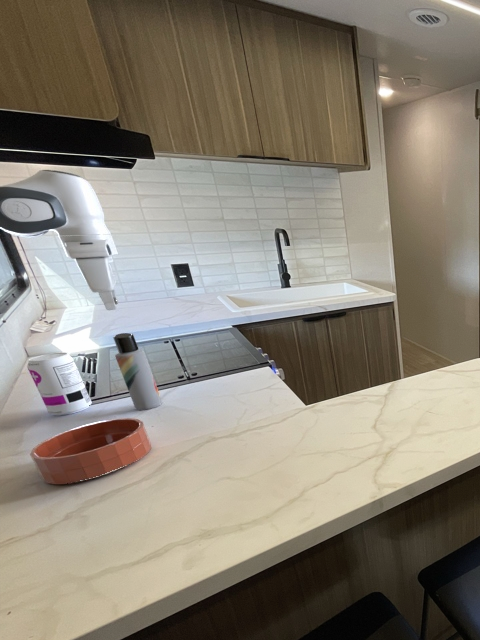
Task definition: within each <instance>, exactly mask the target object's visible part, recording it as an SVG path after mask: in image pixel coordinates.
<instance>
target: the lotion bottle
mask: <svg viewBox="0 0 480 640" xmlns="http://www.w3.org/2000/svg"><path fill="white" fill-rule="evenodd" d="M112 338H113V341H114V344H115V347H116V349H117V351H118V352H117V353H116V354H115V355H114V356H115V357H114V358H115V360H116V362H117V365H118V367H119V370H120V373H121V375H122V377H123V381H124V383H125V386H126V388H127V391H128V393H129V396H130V399H131V401H132V404H133V406H134V408H135V410H138V411H144V410H151V409H153V408H157V407H159V406H160V405H162V403H163V400H162V397H161V395H160V392H159V388H158V386H157V383H156V380H155V377H154V375H153V372H152V369H151V366H150V364H149V361H148V357H147V354H146V353H145V351H144V349H139V347H138V343H137V341H136V339H135V336H134V334H133V333H130V332H129V333H128V332H122V333H117V334H115V335H114V336H113V337H112Z"/></svg>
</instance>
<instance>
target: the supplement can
mask: <svg viewBox="0 0 480 640" xmlns="http://www.w3.org/2000/svg"><path fill="white" fill-rule="evenodd" d="M26 368H27V370H28V372H29V374H30V376H31V378H32V380H33V383H34V385H35V387H36V389H37V391H38V393H39V395H40V397H41V400H42V402H43V403H44V406H45V408H46V410H47V412H48V414H50V415H53V416H66V415H71V414H75V413H79V412H81V411H84V410H87V409H88V408H89V407H90V406H91V405H92V402H93V401H92V400H91V397H90V395H89V392H88V390H87V387H86V386H85V383H84V381H83V378H82V376H81V373H80V372H79V368H78V367H77V365H76V363H75V360H74V357H72V356H71V355H69V353H68V352H53V353H47V354H41V355H38V356H37V355H36V356H33V357H31V358H29V359H28V360H27V365H26ZM89 405H90V406H89Z"/></svg>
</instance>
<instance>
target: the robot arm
mask: <svg viewBox="0 0 480 640" xmlns="http://www.w3.org/2000/svg"><path fill="white" fill-rule="evenodd" d="M0 230H2V231H4V232H6V233H7V234H10V235H13V236H16V237H22V238H36V237H40V236H43V235H45V234H47V233H48V232H50V231H54V232H56V233H57V235H58V238H59V240H60V243H61V245H62V248H63V250H64V253H65V255H66V257H67V258H70V259H72V260H74V261H75V263H76V266H77V267H78V269H79V271H80V273H81V275H82V277H83V279H84V281H85V283H86V284H87V286H88V288H89V290H90V291H91V292H92V293H98V295H99V298H100V299H101V301H102V303H103V305H104V308H105V309H106V311H114V310H116V309H117V305H119V301H118V297H117V294H116V289H115V287H116V285H117V279H116V276H115V273H114V271H113V268H112V266H111V263H114V262H115V261H114V259H113V256H117V255H119V252H118V249H117V246H116V244H115V243H116V242H115V241H114V238H113V235H112V233H111V231H110V230H109V228H108V227H107V225H106V222H105V213H104V210H103V208H102V205H101V202H100V200H99V197H98V196H97V193H96V192H95V190H94V188H93V185H91V183H90V182H89V181H88V180H87V179H85V178H84V177H82V176H81V175H78V174H74V173H71V172H67V171H61V170H53V169H42V170H41V169H40V170H38V171H37V172H36V173H35V174H32V175H30V176H29V177H27V178H25V179H22V180H19V181H15V182H12V183H8V184H4V185H3V184H2V185H0Z"/></svg>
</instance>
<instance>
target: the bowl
mask: <svg viewBox="0 0 480 640" xmlns="http://www.w3.org/2000/svg"><path fill="white" fill-rule="evenodd" d="M151 449H152V442H151V440H150V437H149V434H148V431H147V429H146V427H145V424H144V422H143V420H141V419H138V418H132V417H131V418H130V417H127V418H114V419H107V420H101V421H96V422H92V423H88V424H85V425H84V424H83V425H81V426H78V427H75V428H72V429H69V430H68V429H67V430H66V431H63V432H61V433H58V434H55V435H53V436H51V437H48V438H47V439H45V440H43V441H41V442H40V443H38V444H37V445H36V446H34V447H33V448H32V449H31V451H30V453H29V456H30V458H31V460H32V462H33V464H34V465H35V467H36V470H37V471H38V473H39V475H40V478H41V479H42V480H43V481H44V482H45V483H46V484H50V485H51V484H52V485H67V483H68V484H72V483H71V482H75V483H77V482H76V481H80V480H85V479H89V478H93V477H96V476H100V475H102V474H105V473H107V472H110V471H112V470H115V469H118V468H120V467H123V466H125V465H128V464H130V463H132V462H134V461H136V460H138V459H139V460H141V459H142V458H143V457H145V456H146V455H148V453H149V452H150V451H151ZM141 457H142V458H141ZM139 460H138V461H139ZM136 462H137V461H136ZM134 463H135V462H134ZM132 464H133V463H132ZM130 465H131V464H130Z"/></svg>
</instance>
